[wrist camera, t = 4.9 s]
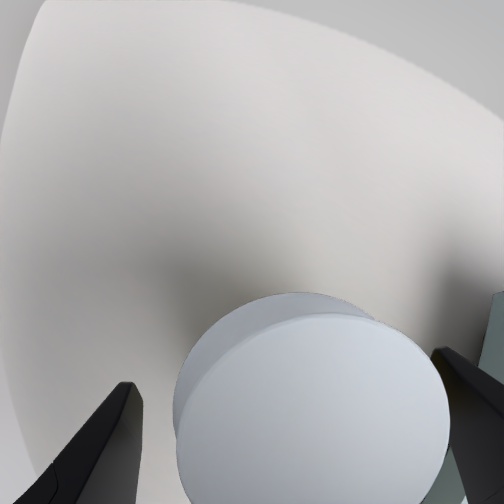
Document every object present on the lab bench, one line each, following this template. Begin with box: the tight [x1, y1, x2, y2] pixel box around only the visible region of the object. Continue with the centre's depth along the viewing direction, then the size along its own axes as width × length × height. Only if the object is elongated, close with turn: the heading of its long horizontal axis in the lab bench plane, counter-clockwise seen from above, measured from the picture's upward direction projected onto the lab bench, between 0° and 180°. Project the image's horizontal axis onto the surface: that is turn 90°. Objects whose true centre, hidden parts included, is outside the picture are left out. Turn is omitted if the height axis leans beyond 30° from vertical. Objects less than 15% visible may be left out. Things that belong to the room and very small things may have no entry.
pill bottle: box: [173, 292, 450, 504], centre depth 10 cm, size 6×6×12 cm
